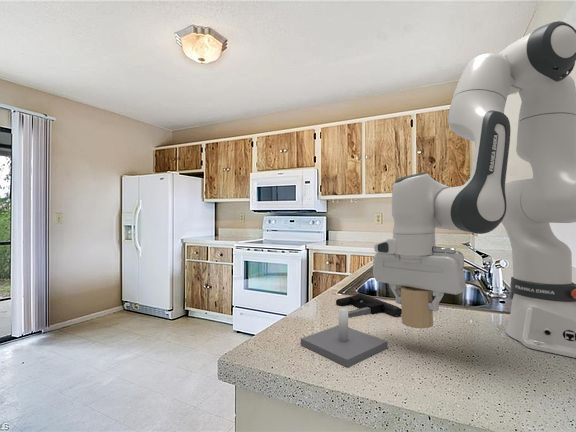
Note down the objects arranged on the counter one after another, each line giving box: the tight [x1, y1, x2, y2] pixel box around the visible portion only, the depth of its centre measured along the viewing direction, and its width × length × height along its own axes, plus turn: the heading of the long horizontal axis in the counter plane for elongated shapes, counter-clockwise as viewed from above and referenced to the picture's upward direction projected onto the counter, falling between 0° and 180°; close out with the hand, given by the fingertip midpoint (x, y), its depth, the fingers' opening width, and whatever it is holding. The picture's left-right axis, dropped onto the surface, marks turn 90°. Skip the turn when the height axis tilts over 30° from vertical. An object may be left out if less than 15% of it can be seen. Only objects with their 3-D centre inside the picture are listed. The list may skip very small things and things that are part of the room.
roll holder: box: [300, 307, 389, 368], centre depth 71 cm, size 14×14×8 cm
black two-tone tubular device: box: [335, 292, 402, 318], centre depth 98 cm, size 3×20×16 cm
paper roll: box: [400, 286, 434, 329], centre depth 70 cm, size 6×6×8 cm
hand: (416, 306), depth 70 cm, fingers closed on paper roll, 6 cm apart
